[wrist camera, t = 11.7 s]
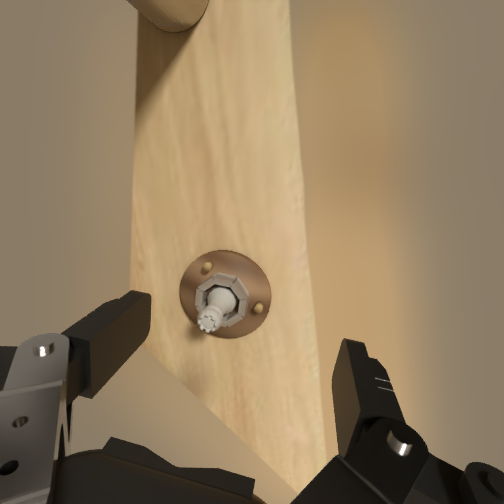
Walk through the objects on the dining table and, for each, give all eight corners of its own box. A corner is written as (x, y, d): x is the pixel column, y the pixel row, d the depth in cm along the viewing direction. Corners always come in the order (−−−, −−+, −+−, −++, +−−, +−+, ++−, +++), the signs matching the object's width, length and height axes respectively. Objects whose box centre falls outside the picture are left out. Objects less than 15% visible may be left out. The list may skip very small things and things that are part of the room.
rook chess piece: (244, 303, 44) (230, 332, 37) (219, 314, 46) (202, 344, 38) (228, 278, 44) (211, 302, 36) (204, 290, 45) (183, 316, 37)
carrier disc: (186, 242, 44) (177, 247, 41) (278, 260, 43) (276, 267, 40) (180, 322, 49) (171, 333, 46) (263, 342, 47) (260, 354, 44)
